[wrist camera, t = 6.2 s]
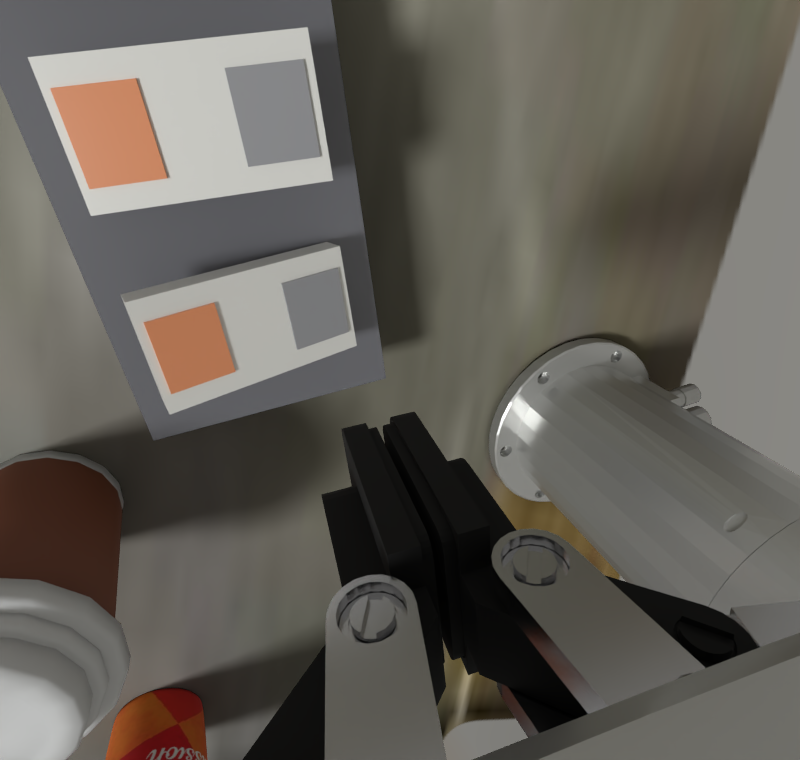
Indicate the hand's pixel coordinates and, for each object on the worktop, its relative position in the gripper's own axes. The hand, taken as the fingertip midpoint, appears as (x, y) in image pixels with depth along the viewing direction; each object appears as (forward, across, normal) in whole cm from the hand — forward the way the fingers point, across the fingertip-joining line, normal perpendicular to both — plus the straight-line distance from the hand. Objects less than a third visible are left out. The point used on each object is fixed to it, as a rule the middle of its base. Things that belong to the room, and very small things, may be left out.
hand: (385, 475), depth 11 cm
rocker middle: (+10, +3, -8) cm, 13 cm away
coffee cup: (+16, +15, +8) cm, 23 cm away
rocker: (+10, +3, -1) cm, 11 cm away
